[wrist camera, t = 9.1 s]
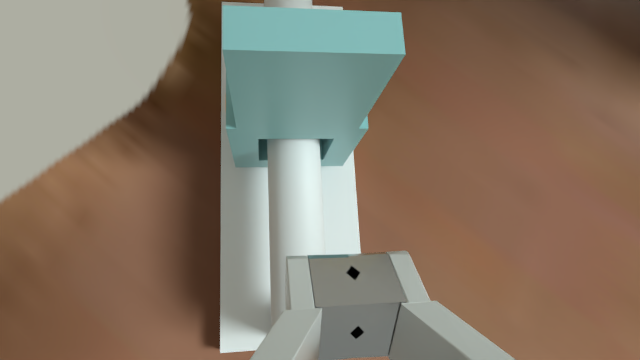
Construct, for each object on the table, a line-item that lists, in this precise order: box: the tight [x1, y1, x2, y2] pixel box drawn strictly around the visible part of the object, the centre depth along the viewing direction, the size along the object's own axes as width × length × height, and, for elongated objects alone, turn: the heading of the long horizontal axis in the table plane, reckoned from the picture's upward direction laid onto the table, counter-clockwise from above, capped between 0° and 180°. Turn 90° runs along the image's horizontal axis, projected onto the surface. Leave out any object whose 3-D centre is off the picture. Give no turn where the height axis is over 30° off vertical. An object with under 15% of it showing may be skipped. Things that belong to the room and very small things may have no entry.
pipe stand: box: [220, 0, 361, 353], centre depth 25 cm, size 24×9×7 cm, turn 3°
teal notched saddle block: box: [222, 5, 406, 167], centre depth 20 cm, size 4×7×14 cm, turn 93°
